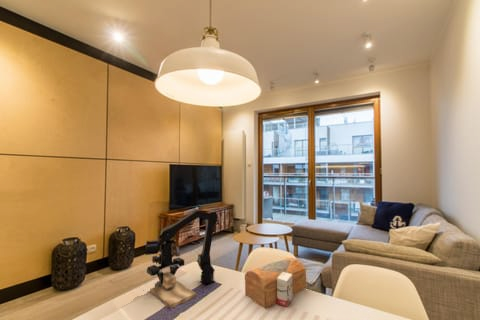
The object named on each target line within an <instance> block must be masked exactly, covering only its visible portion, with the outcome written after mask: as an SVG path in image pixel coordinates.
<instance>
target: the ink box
mask: <svg viewBox="0 0 480 320" xmlns="http://www.w3.org/2000/svg"><path fill="white" fill-rule="evenodd" d="M292 299H293V295H292V274H289V273H286V272H282V273H281V274H280V276H278V278H277V303H276V304H277V305H279V306H282V307H285V308H286V307H288V305H289V304H290V303H291V301H292Z"/></svg>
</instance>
